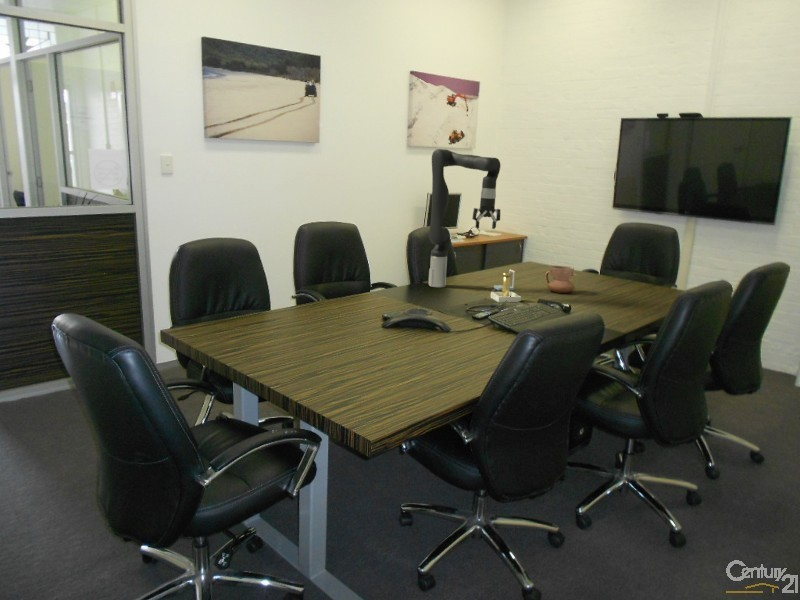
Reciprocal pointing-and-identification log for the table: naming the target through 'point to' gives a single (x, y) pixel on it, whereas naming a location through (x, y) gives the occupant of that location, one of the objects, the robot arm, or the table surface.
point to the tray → (499, 298)
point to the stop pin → (506, 284)
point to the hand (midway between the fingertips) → (485, 228)
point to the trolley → (499, 287)
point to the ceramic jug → (561, 279)
